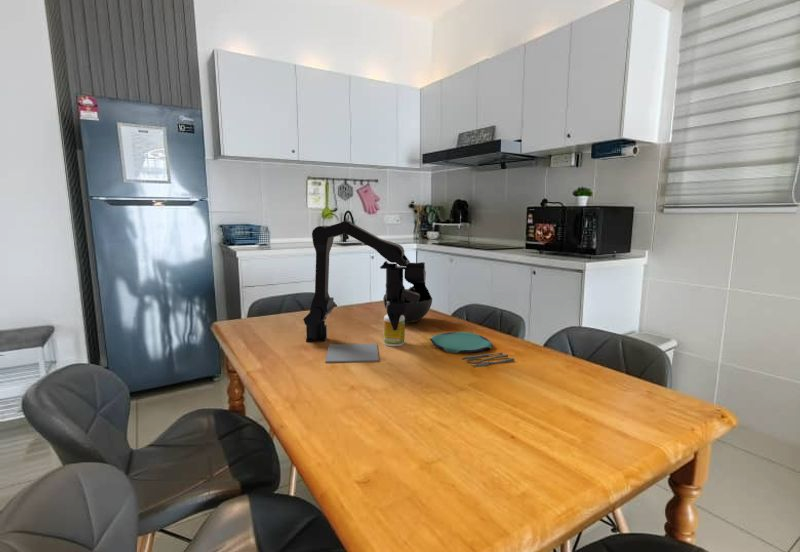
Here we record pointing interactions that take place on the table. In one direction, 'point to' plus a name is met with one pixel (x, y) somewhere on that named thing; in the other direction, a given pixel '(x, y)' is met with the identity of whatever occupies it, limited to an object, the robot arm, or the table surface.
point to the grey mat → (352, 353)
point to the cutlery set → (466, 346)
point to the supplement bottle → (394, 332)
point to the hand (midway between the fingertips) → (394, 327)
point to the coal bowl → (419, 309)
